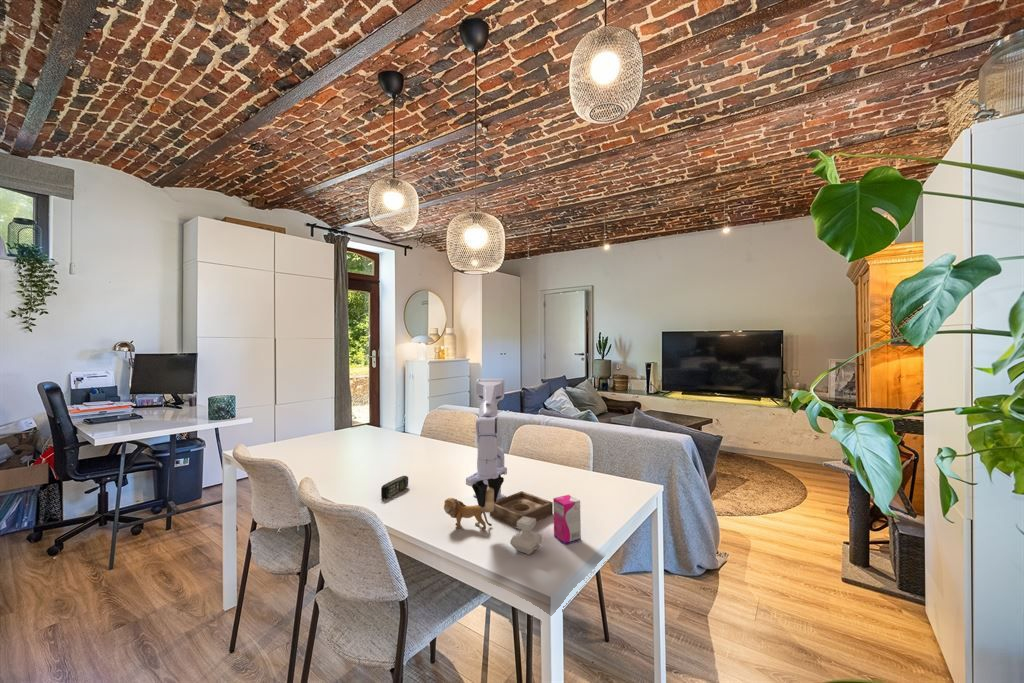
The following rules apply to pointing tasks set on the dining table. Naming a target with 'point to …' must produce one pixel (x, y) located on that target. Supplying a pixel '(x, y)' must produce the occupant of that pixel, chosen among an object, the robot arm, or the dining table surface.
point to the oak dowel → (489, 501)
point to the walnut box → (521, 508)
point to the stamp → (526, 536)
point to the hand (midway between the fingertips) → (487, 503)
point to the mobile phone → (394, 487)
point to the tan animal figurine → (464, 512)
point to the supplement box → (567, 519)
